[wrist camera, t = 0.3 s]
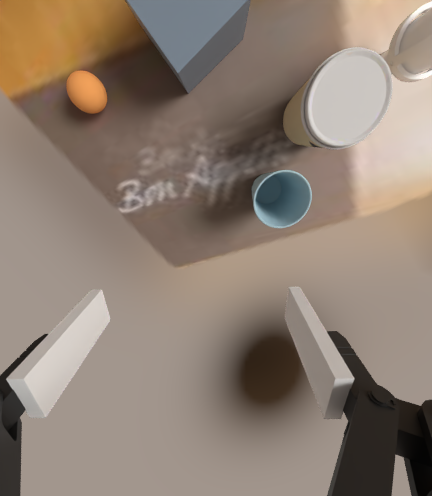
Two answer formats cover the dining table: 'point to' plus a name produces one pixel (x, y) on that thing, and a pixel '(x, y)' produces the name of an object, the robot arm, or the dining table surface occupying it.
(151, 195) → the dining table surface
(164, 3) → the slate blue cube
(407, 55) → the white hollow stepped cylinder
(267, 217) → the cup
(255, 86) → the dining table surface
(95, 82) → the ball
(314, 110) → the coffee cup
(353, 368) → the robot arm
